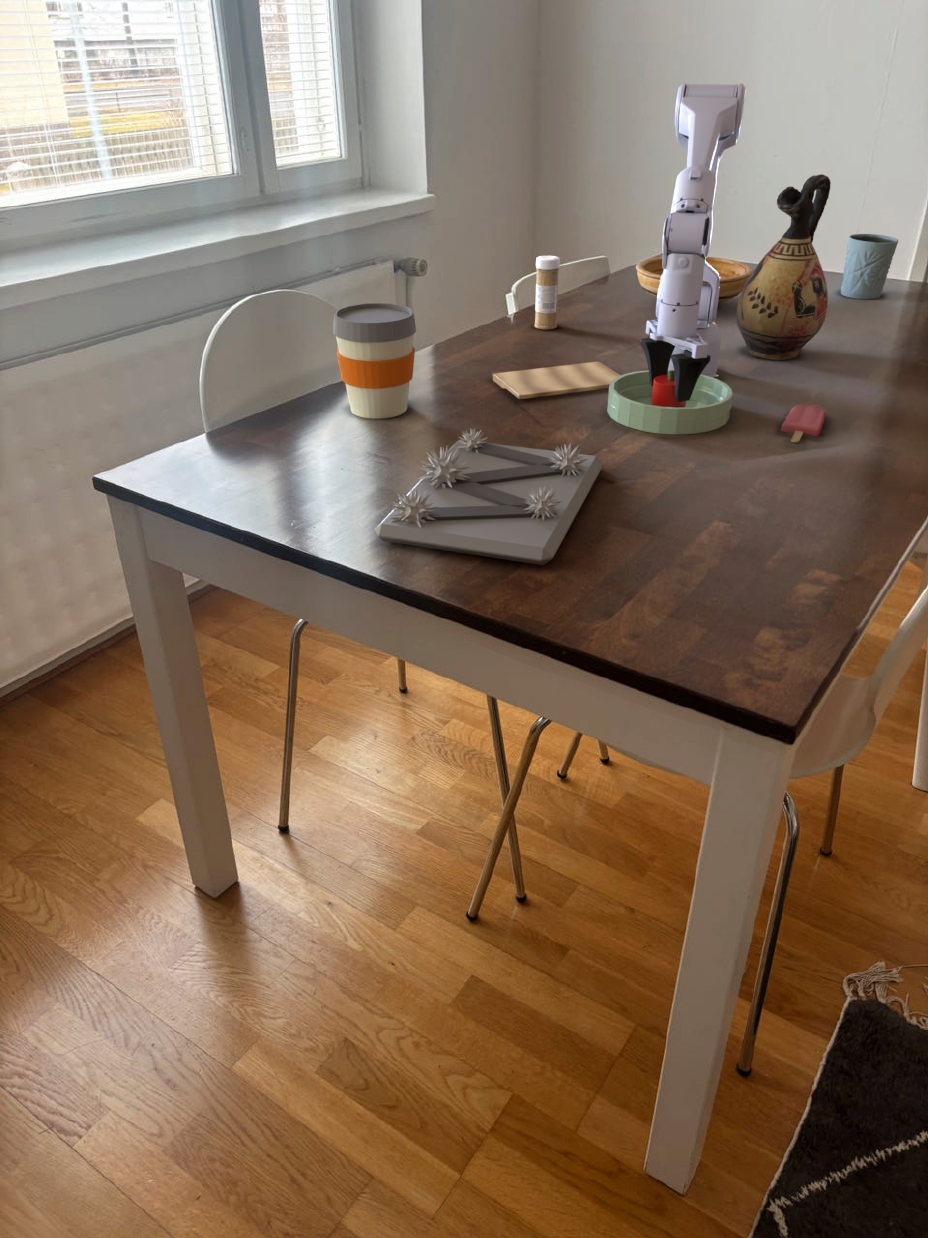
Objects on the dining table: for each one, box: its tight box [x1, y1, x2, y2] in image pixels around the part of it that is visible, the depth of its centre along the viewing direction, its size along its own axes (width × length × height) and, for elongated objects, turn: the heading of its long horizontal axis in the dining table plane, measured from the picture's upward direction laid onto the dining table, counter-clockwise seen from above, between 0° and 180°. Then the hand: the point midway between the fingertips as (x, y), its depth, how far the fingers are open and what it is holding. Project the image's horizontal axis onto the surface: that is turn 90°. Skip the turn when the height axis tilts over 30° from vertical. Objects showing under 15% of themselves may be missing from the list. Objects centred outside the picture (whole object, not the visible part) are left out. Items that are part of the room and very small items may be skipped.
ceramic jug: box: [736, 173, 832, 361], centre depth 168 cm, size 17×15×30 cm
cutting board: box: [492, 361, 622, 400], centre depth 161 cm, size 20×12×1 cm, turn 109°
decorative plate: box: [373, 428, 604, 566], centre depth 119 cm, size 30×22×7 cm
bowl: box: [606, 369, 734, 436], centre depth 146 cm, size 18×18×4 cm
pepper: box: [651, 370, 686, 408], centre depth 146 cm, size 5×5×7 cm
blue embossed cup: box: [840, 233, 899, 300], centre depth 210 cm, size 10×10×12 cm
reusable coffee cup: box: [332, 302, 417, 420], centre depth 147 cm, size 13×13×15 cm
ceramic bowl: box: [635, 256, 754, 304], centre depth 204 cm, size 30×24×8 cm
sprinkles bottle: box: [534, 255, 561, 331], centre depth 188 cm, size 5×5×13 cm
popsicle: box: [780, 404, 827, 444], centre depth 142 cm, size 5×2×15 cm
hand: (669, 392), depth 146 cm, fingers open, 7 cm apart
